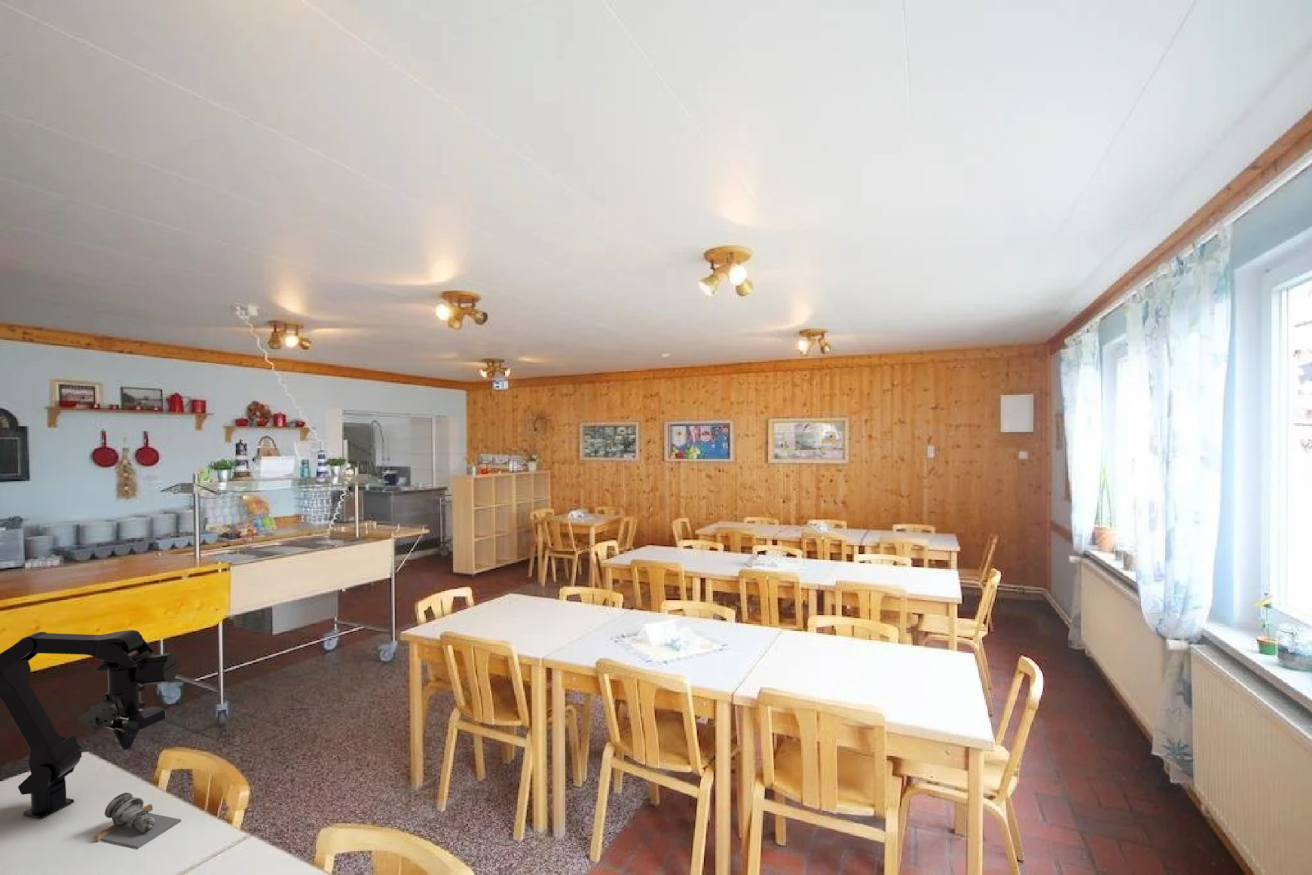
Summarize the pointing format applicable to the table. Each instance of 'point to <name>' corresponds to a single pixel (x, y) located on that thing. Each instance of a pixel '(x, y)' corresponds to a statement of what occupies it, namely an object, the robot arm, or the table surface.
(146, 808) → the kerb
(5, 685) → the robot arm
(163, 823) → the mat
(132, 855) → the table surface
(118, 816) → the stone baluster finial
